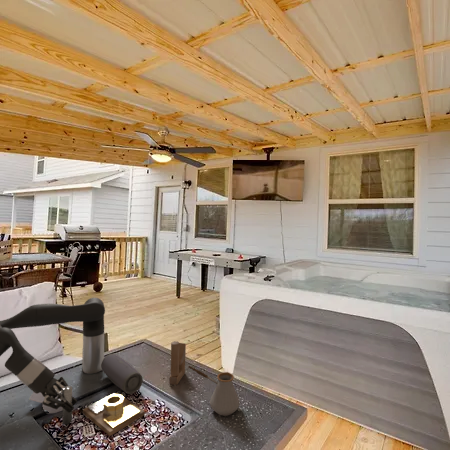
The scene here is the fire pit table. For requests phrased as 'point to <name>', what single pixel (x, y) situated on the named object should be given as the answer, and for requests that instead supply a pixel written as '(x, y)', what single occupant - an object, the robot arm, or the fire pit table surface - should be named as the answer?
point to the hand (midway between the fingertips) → (73, 406)
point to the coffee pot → (222, 393)
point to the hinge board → (100, 417)
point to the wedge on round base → (40, 398)
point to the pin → (68, 397)
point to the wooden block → (177, 362)
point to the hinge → (114, 410)
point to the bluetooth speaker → (122, 373)
